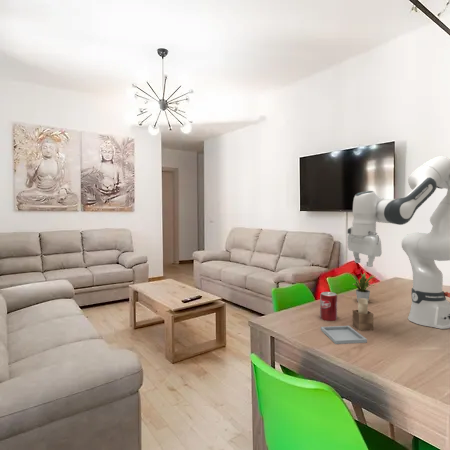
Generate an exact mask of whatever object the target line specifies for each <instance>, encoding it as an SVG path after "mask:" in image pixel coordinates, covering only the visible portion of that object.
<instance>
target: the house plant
mask: <svg viewBox="0 0 450 450" xmlns="http://www.w3.org/2000/svg"><path fill="white" fill-rule="evenodd" d="M351 274H352V277H353V279H354V280H356V281H355V283H352V285H354V286H355V287H357V289H355V294H356V300H357V302H358V299H359V298H365V299H368V301H369V299H370V295H371V294H370V293H371V291H370V290H369V287H371V284H370V283H371V282H372V281H373V278H375V274H373V275H370V276H369V277H366V272H365V271H364V273H363V274H362V272H360V274H361V275H360V276H361V277H360V278H359V279H358V278H357V276H356V275H354V274H353V273H351ZM372 287H375V284H372ZM367 288H368V289H367Z"/></svg>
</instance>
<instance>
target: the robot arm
mask: <svg viewBox="0 0 450 450" xmlns="http://www.w3.org/2000/svg"><path fill="white" fill-rule="evenodd" d="M407 182H408V186H409V188H410V189H411V191H410V192H409V193H408V194H406V196H402V197H399V198H390V199H389V198H387V199H386V198H384V197H381V196H379V195H378V194H377V193H376V192H375V191H373V190H367V191H361V192H357V193H356V194H355V195H354V197H353V201H352V216H353V220H352V224H351V225H352V226H350V227H349V228H347V229H346V234H347V249H348V251H350V252H352V253H353V255H352V256H353V257H354V263H356V264H359V263H361V258H360V254H362V255H366V256H367V259H368V260H367V261H366V266H367V267H368V268H372V267H373V265H374V261H375V259H376V257H378V258H379V257H381V255H382V253H383V252H382V241H381V238H380V235H378V232H377V223H382V224H393V225H400V226H401V225H405V224H407V223H410V221H411V220H412V218H413V217H414V215H415V213H416V212H417V210H419V208H420V207H421V206H422V205H423V204H424V203H425V202H426V201H427V200H428V199H429V198H430V197H431V196H432V195H433V194H434V193H435V192H436V191H437V189H441V190H442V189H446V190H447V192H446V195H445V196H444V197H443V198H442V199H441V201H440V202H439V203H438V205H437V207H436V208H435V209H434V212H433V213H432V214H431V216H430V218H429V222H430V224H431V226H432V227H431V230H430V231H429V232H428V233H424V232H413V233H409V234H406V235H404V237H403V238H402V239H401V248H402V250H403V252H404V253H405V254H406V255H407V258H408V260H409V262H410V265H411V270H412V288H411V292H410V293H411V306H410V311H409V314H408V317H407V320H408V321H410V322H412V323H414V324H416V325H420V326H425V327H431V328H437V329H441V330H446V329H450V301H448V300H447V298H450V292H448V291H444V290H443V282H444V281H443V277H444V276H443V273H442V271H441V269H439V267H438V266H437V264H436V262H435V261H437V262H438V261H439V262H443V261H444V262H445V261H450V158H449V157H447V156H444V155H437V156H435V157H432V158H431V159H429V160H427V161H425V162H424V163H422V164H421V165H419V166H418V167H416V169H414V170H412V172H411V173H410V175H409V176H408V179H407Z"/></svg>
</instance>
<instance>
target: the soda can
mask: <svg viewBox="0 0 450 450" xmlns="http://www.w3.org/2000/svg"><path fill="white" fill-rule="evenodd" d="M319 296H320V297H319V299H320V300H319V301H320V302H319V303H320V305H319V306H320V307H319V308H320V309H319V310H320V311H319V318H320V319H321V320H322V321H327V322H334V321H337V320H338V294H337V293H336V292H332V291H331V292H330V291H323V292H321V293H320V295H319Z"/></svg>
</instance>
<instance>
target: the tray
mask: <svg viewBox="0 0 450 450" xmlns="http://www.w3.org/2000/svg"><path fill="white" fill-rule="evenodd" d="M320 331H321V332H322V333H323V334H324V335H325V336H327V337H328V338H329V340H330V341H332V342H333V343H334V344H335V345H346V344H349V345H350V344H364V343H365V344H366V343H368V339H367V338H366V337H365V336H363V335H362V334H361V333H360V332H358V330H355V329H354V327H352V326H350V325H331V326H320Z"/></svg>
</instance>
